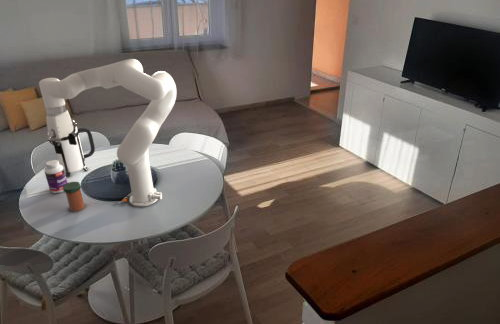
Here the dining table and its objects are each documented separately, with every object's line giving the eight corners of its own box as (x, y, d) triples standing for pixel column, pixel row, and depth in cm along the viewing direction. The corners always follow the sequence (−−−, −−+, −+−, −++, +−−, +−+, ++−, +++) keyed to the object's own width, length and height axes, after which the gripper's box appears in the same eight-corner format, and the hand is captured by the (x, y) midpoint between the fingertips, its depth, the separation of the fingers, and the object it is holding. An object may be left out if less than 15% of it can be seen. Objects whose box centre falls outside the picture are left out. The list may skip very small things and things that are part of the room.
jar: (87, 204, 180) (82, 184, 176) (79, 212, 175) (73, 191, 170) (75, 203, 182) (70, 182, 177) (67, 210, 177) (61, 189, 172)
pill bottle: (62, 194, 189) (54, 167, 182) (46, 193, 190) (38, 166, 184) (72, 186, 196) (65, 159, 189) (57, 184, 197) (49, 158, 191)
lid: (60, 192, 172) (59, 188, 171) (70, 184, 178) (69, 180, 177) (74, 193, 170) (73, 190, 170) (84, 185, 176) (83, 182, 176)
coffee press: (81, 178, 203) (67, 121, 189) (52, 176, 205) (36, 120, 192) (98, 162, 218) (86, 108, 204) (71, 161, 220) (57, 108, 207)
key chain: (134, 191, 190) (133, 188, 189) (140, 193, 188) (139, 190, 188) (114, 205, 180) (113, 202, 179) (121, 207, 178) (120, 204, 178)
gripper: (62, 102, 172) (71, 140, 180) (33, 116, 157) (45, 157, 165) (77, 102, 170) (86, 141, 178) (50, 117, 155) (61, 158, 163)
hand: (66, 148), depth 171 cm, fingers open, 8 cm apart
